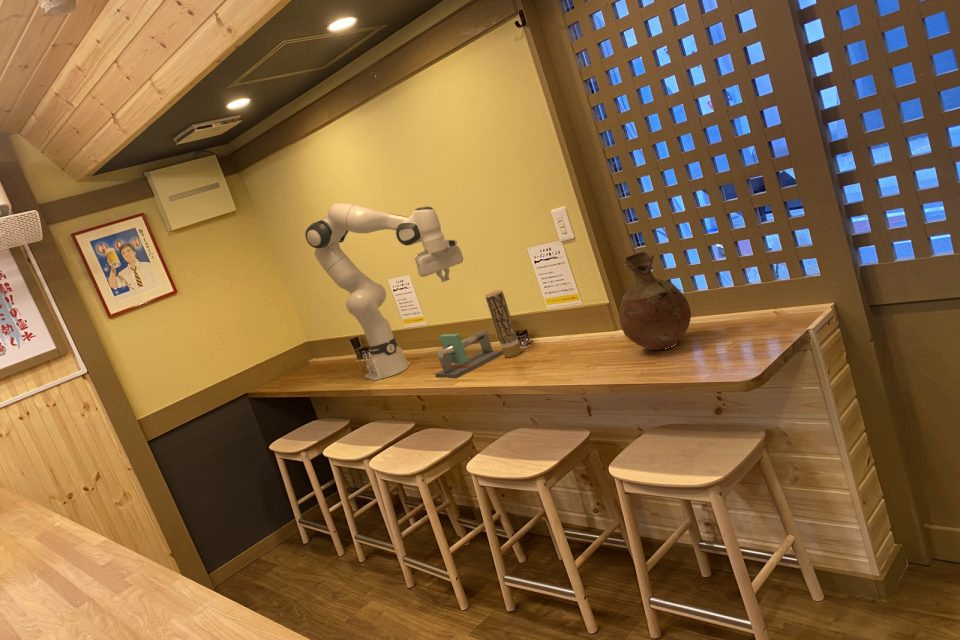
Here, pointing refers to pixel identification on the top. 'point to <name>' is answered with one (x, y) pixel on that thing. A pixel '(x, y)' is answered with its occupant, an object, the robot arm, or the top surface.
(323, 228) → the robot arm
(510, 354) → the bark covered log
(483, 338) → the pipe rig
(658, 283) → the jug
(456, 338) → the collar
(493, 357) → the base board
